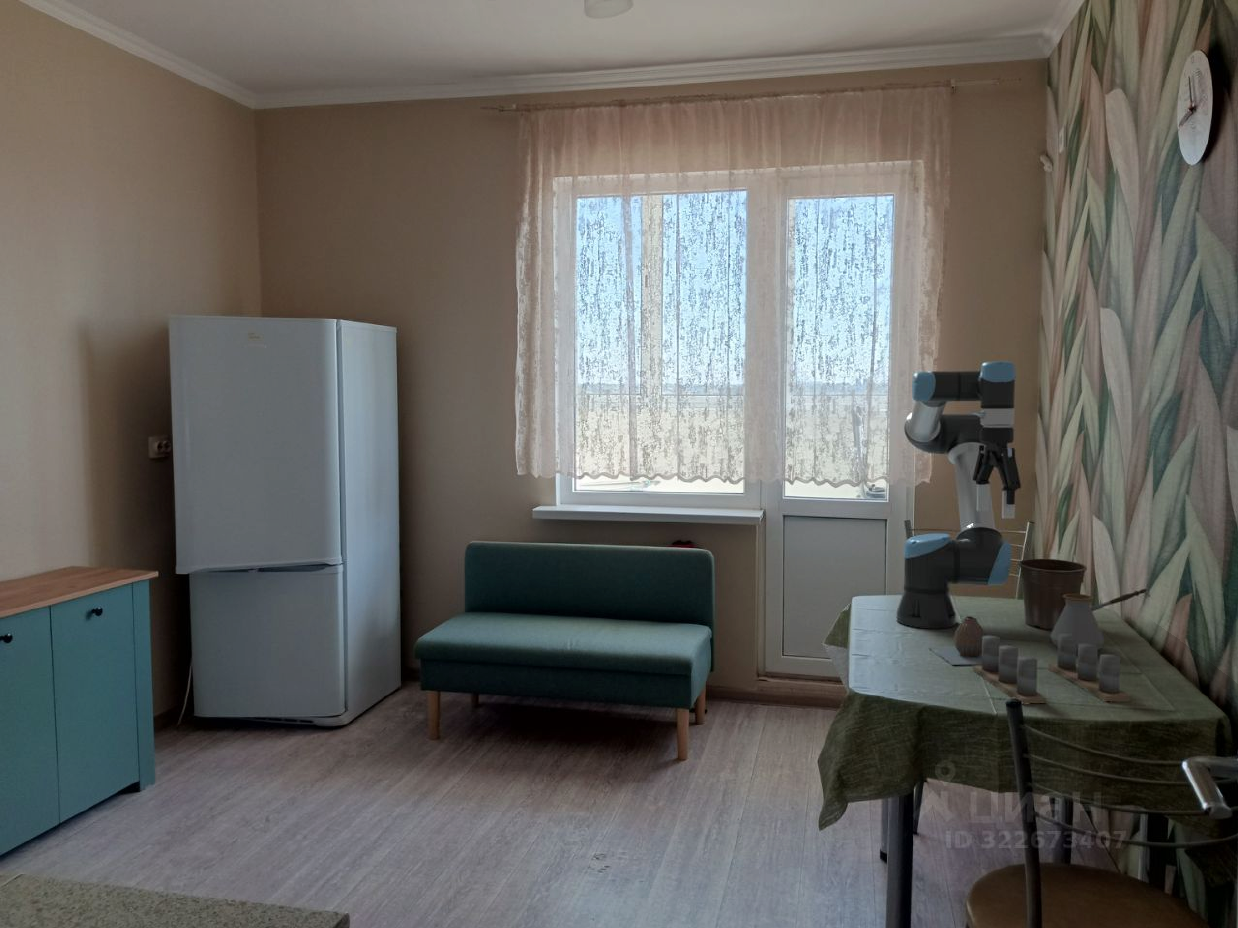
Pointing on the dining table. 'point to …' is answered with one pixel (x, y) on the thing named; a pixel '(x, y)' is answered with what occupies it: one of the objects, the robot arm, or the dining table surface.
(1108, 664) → the spacer rack
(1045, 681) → the dining table surface
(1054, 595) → the plant pot
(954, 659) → the mat
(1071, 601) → the coffee pot
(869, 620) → the dining table surface
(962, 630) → the vase
